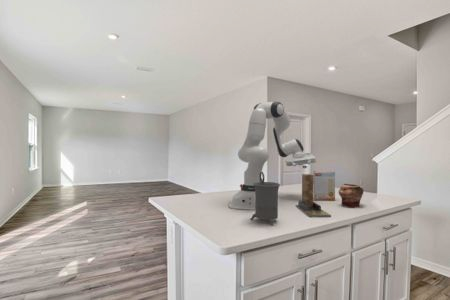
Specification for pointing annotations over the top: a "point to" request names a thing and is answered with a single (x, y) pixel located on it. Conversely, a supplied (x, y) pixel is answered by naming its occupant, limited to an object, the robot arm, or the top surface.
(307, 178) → the walnut block
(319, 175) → the cracker box
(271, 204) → the footed curly-handled cup
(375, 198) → the top surface
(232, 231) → the top surface
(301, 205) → the steel chute
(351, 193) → the decorative planter
